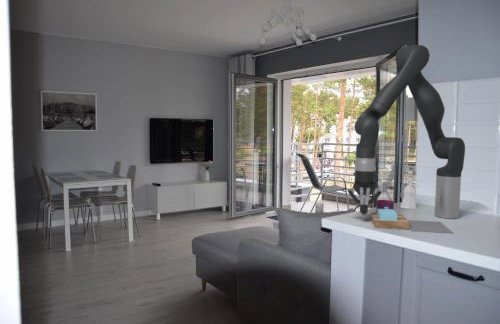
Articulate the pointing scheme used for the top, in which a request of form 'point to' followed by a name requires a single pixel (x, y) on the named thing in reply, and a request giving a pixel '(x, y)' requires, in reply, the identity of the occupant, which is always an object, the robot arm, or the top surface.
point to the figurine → (409, 193)
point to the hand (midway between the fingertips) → (363, 214)
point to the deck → (390, 222)
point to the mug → (384, 204)
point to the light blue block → (387, 214)
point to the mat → (428, 226)
